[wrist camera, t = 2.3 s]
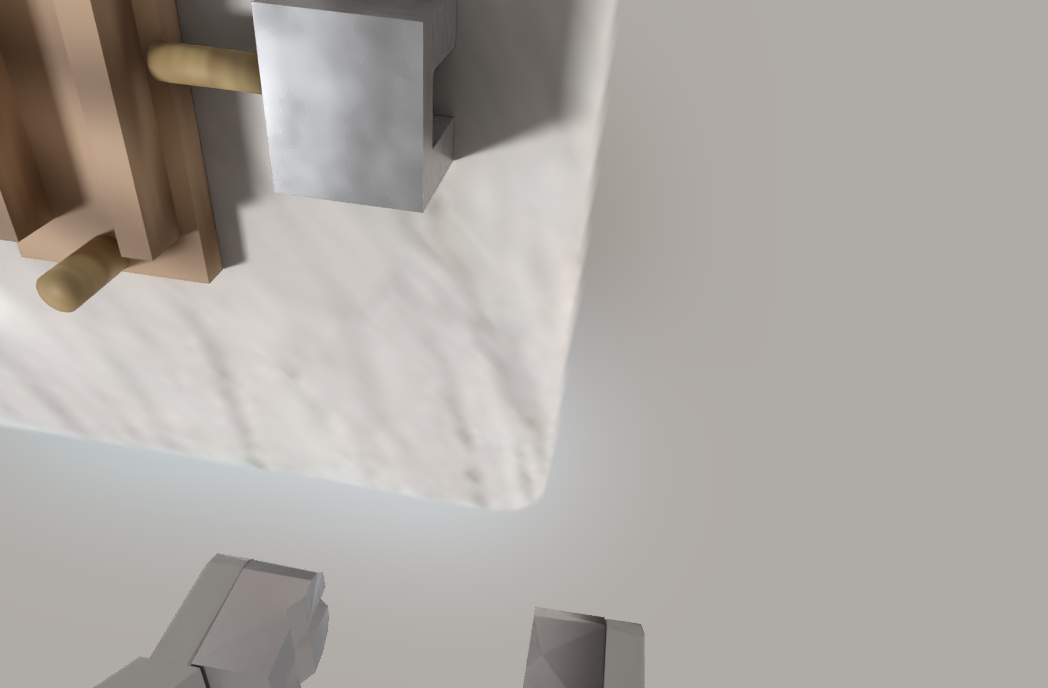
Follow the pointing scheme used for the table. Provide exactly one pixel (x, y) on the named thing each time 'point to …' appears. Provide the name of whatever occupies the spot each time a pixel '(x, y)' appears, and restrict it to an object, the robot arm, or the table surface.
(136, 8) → the cradle
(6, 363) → the table surface
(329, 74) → the block
